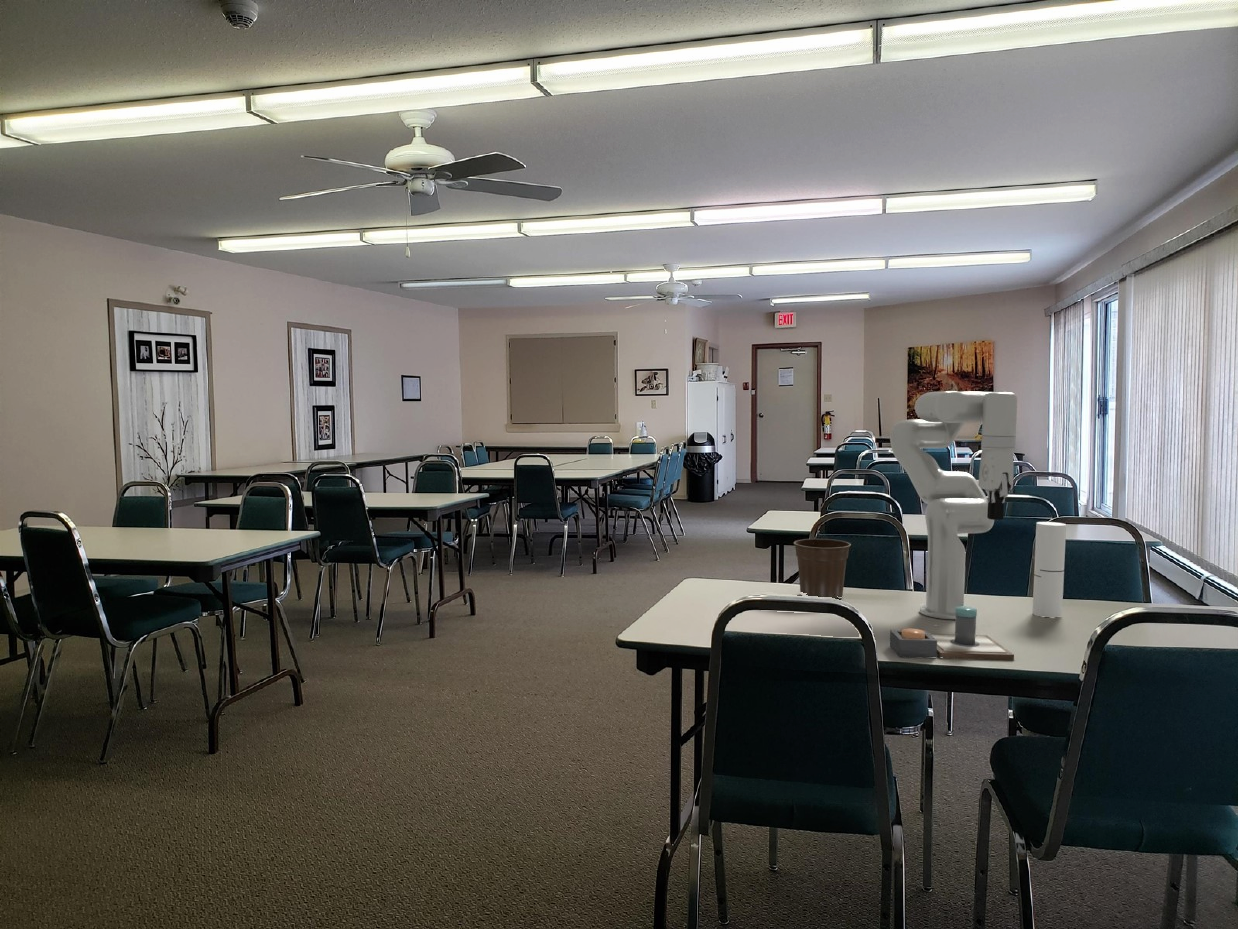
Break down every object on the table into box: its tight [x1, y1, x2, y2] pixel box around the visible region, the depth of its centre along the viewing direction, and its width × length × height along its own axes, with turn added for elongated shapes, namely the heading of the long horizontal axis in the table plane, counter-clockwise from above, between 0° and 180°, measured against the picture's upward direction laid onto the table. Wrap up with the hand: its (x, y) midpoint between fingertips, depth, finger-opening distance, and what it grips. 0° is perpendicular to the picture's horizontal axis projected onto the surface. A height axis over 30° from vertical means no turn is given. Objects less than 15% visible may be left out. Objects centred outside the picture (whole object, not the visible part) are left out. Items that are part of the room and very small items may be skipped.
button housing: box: [889, 629, 938, 658], centre depth 191 cm, size 8×8×4 cm
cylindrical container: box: [1032, 521, 1067, 617], centre depth 227 cm, size 7×7×25 cm
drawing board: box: [929, 633, 1015, 661], centre depth 195 cm, size 16×16×2 cm
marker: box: [954, 605, 978, 645], centre depth 194 cm, size 5×5×8 cm
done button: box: [901, 628, 925, 639], centre depth 191 cm, size 5×5×4 cm
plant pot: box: [793, 538, 852, 600], centre depth 246 cm, size 16×16×16 cm
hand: (995, 519), depth 203 cm, fingers closed
